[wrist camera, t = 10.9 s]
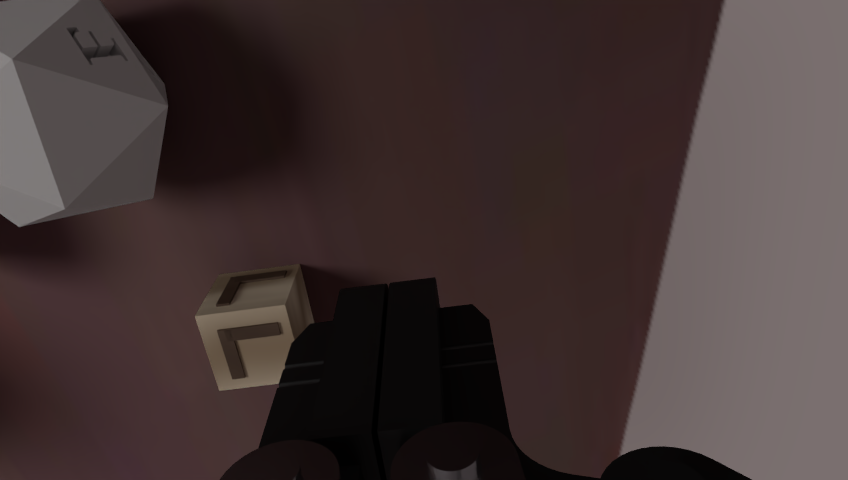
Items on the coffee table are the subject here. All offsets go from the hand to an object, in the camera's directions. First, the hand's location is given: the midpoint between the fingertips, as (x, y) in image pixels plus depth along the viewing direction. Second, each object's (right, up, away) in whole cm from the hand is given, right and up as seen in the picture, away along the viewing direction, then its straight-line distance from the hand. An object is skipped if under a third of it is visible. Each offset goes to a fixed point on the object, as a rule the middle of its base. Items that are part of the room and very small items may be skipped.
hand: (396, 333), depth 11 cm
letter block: (-7, -2, +23) cm, 24 cm away
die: (-14, +8, +18) cm, 24 cm away
